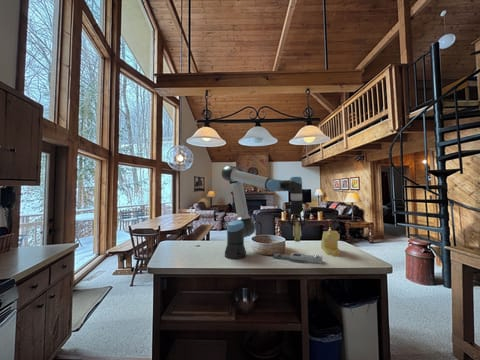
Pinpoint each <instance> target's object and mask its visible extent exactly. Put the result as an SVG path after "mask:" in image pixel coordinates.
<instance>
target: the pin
mask: <svg viewBox="0 0 480 360" xmlns="http://www.w3.org/2000/svg"><path fill="white" fill-rule="evenodd" d="M299 226H301V225H300V221H299V222H298V221H296V222H295V221H294V235H295V236H293V237H294V242H297V243H299V242H301V237H300V227H299Z"/></svg>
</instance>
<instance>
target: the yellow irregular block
mask: <svg viewBox="0 0 480 360" xmlns="http://www.w3.org/2000/svg"><path fill="white" fill-rule="evenodd" d="M322 232H323V233H322V235H321V236H322V238H321V246H320V247H321V249H322V251H323V253H325V255H327V256H330V255H331V256H332V257H338V256H339V255H341V249H340V248H338V247H339V244H338V242H339V241H338V240H340V239H341V238H340V237H341V236H340V235H341V234H340V233H339V232H338V230H337V231H336V230H327V231H322ZM339 257H340V256H339Z"/></svg>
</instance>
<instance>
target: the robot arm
mask: <svg viewBox="0 0 480 360" xmlns="http://www.w3.org/2000/svg"><path fill="white" fill-rule="evenodd" d="M221 177H222V179H223V180H225V181H226V182H229V186H231V187H232V193H233V194H232V195H233V199H234V205H235V210H236V211H235V212H236V216H237V217H236V220H232V221H228V222H227V225H226V226H227V227H226V247H225V250H224V257H225V258H227V259H233V260H237V259H238V260H239V259H243V258H245V257H247V251H246V247H245V238H248V237H250V236H253V234H254V233H255V231H256V224H255V222H254V221H253V220H252V216H250V215H249V210H248V205H247V199H246V195H245V194H246V193H245V188H244V184H246V185H250V186H253V187H256V188H262V189H265V190H268V191H269V192H290V208H289V209H286V213H287V222H288V225H290V226H291V231H292V236H293V237H294V236H295V235H294V222H295V219H296V218H295V217H296V215H298V218H299V223H300V226H299V227H300V238H301V237H302V232H303V231H304V226H306V225H307V213H308V210H307V209H305V208H304V207H303V206H304V205H303V179H302V177H301V176H291V177H290V178H289V179H284V180H283V179H275V178H271V177H266V176H262V175H258V174H254V173H251V172H250V173H249V172H246V171H245V170H244V169H243V168H242V167H240V166H234V165H226V166H224V167H223V168H222V170H221ZM291 212H292V218H291ZM302 212H303V218H302Z"/></svg>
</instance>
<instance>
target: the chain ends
mask: <svg viewBox="0 0 480 360" xmlns="http://www.w3.org/2000/svg"><path fill="white" fill-rule="evenodd" d="M272 259H278V260H285V261H286V260H287V261H288V260H289V261H290V262H297V263H304V262H305V263H311V262H312V263H313V264H320V263H321V264H323V263H324V262H323V256H322V255H321V256H320V255H318V254H314V255H311V254H310V255H309V254H305V253H299V252H290V254H282V253H274V254H273V257H272ZM321 264H320V265H321Z"/></svg>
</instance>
